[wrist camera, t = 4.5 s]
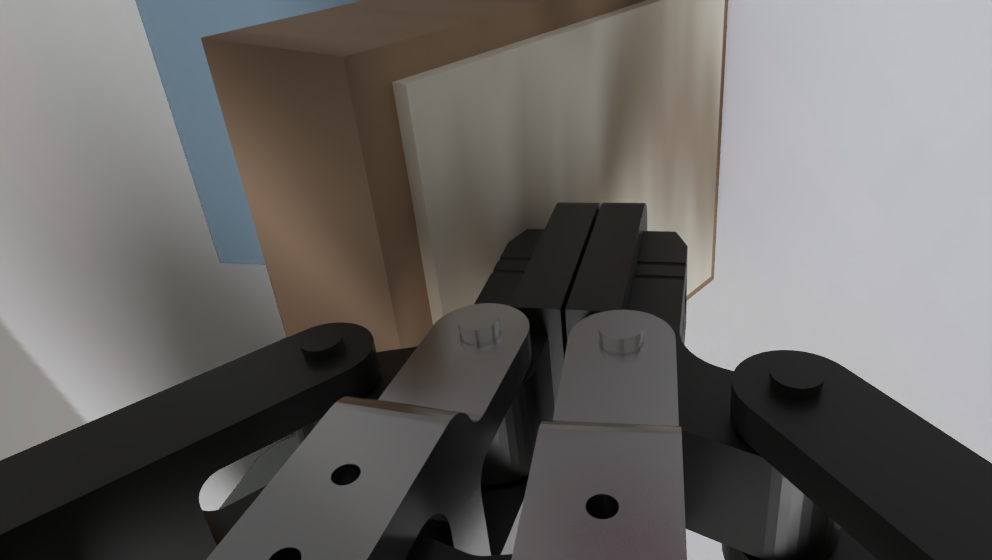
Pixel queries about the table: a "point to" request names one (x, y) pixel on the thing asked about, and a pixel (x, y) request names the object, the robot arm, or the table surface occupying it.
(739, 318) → the table surface
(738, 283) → the table surface
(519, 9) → the wooden block
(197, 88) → the rubber mat
